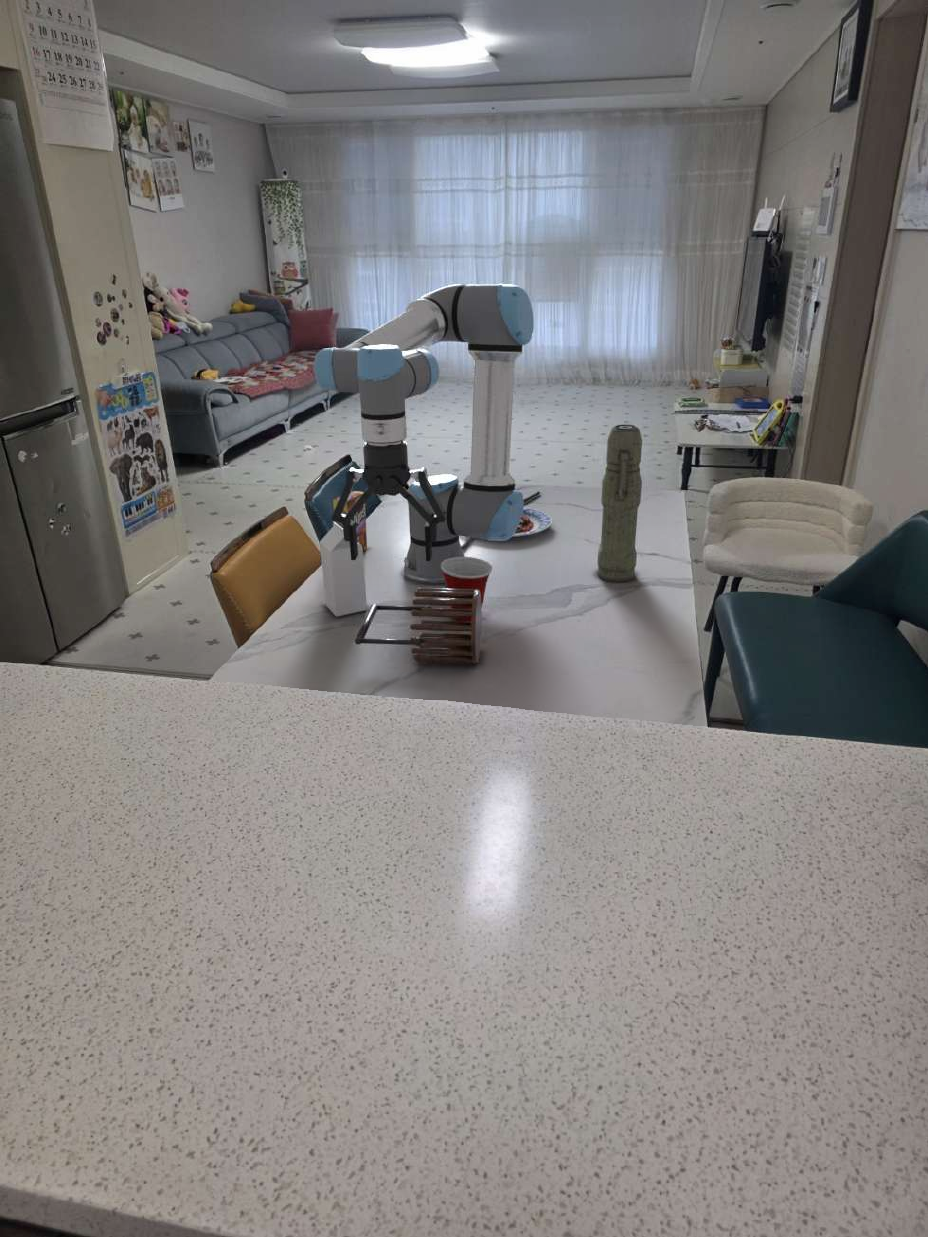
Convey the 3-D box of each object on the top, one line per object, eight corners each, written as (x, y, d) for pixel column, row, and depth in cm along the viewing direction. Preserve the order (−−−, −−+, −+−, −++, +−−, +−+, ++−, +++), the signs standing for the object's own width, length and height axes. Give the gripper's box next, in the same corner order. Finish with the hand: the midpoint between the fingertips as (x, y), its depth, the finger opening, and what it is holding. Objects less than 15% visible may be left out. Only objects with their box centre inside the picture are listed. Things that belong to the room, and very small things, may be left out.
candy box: (350, 559, 208) (345, 501, 201) (336, 557, 209) (331, 499, 203) (368, 548, 215) (364, 491, 209) (354, 546, 217) (350, 490, 210)
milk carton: (336, 617, 176) (328, 533, 168) (325, 605, 182) (317, 524, 174) (367, 610, 179) (361, 527, 171) (355, 599, 185) (349, 518, 177)
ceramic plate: (568, 522, 231) (568, 511, 230) (524, 549, 212) (524, 538, 211) (489, 508, 244) (489, 499, 243) (441, 533, 225) (440, 523, 223)
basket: (373, 637, 167) (369, 573, 161) (482, 640, 165) (481, 575, 159) (356, 676, 153) (350, 607, 147) (475, 680, 151) (474, 610, 145)
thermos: (631, 565, 201) (641, 420, 186) (638, 584, 190) (650, 432, 175) (594, 565, 201) (602, 421, 186) (599, 584, 190) (608, 432, 176)
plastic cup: (488, 630, 170) (487, 575, 164) (436, 626, 172) (435, 572, 167) (496, 608, 179) (496, 556, 174) (448, 605, 181) (446, 554, 176)
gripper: (307, 446, 138) (319, 564, 147) (455, 446, 136) (458, 566, 145) (318, 436, 145) (328, 550, 154) (459, 436, 143) (461, 551, 152)
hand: (391, 558), depth 149 cm, fingers open, 13 cm apart
